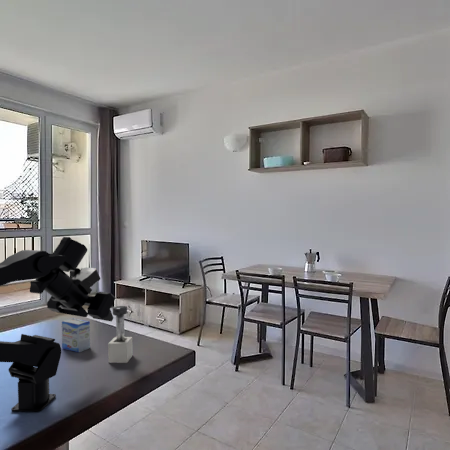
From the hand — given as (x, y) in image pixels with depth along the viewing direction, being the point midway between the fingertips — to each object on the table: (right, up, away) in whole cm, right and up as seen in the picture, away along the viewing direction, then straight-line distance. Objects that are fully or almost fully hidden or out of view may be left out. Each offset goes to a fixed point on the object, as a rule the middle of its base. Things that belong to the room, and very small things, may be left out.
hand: (99, 317), depth 93 cm
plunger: (+4, -9, +7) cm, 12 cm away
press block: (+4, -14, +7) cm, 16 cm away
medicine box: (-13, -14, +15) cm, 24 cm away
